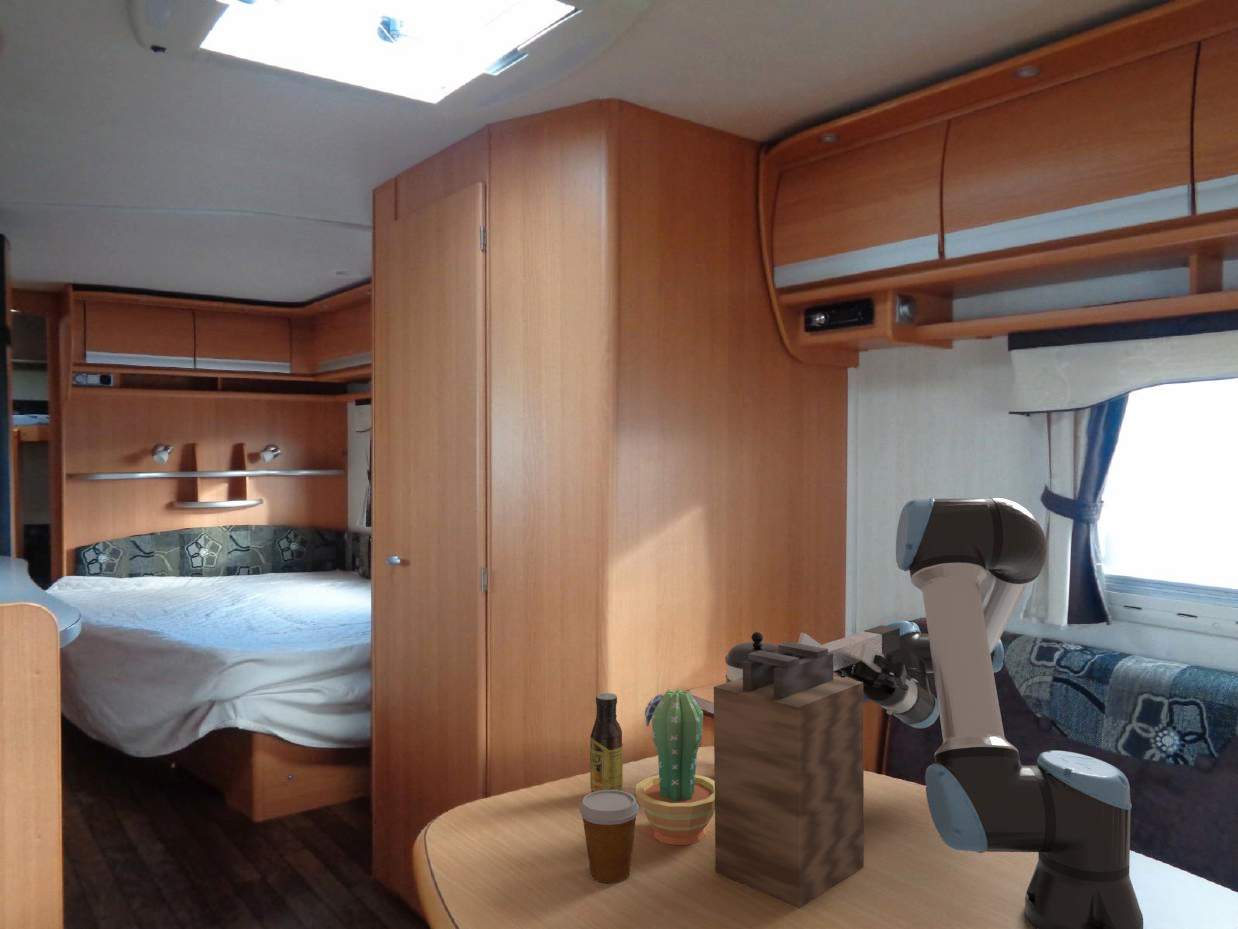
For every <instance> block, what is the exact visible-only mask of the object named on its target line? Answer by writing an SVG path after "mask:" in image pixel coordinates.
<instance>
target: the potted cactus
mask: <svg viewBox="0 0 1238 929" xmlns="http://www.w3.org/2000/svg"><path fill="white" fill-rule="evenodd" d="M644 717H645V726H646V727H647V728H648V727H649V725H650V723H651V728H652V730H651V731H652V740H653V742H654V746H655V749H656V752H657V759H658V760H657V761H658V774H657V775H652V776H648V777H645V778H644V779H643V780H641V781H640V782H638V783H637V784H635V796H636V797H635V798H636V802H637V804H639V805H641V807H642V808H643V812H644V815H645V818H646V820H647V821H648V823H649V825H651V827H652V828H653V837H654V838H655V839H656V840H658V841H659V842H661V843H664V844H669V845H671V846H672V845H673V846H686V845H687V846H688V845H690V844H695V843H698V842H700V841H701V840H702V839H703V838H705V832H704V829H705V828H707V825H708V824H709V823H710V822H711V820H712V819H713V816H714V814H715V780H714V779H712V778H710V777H707V776H704V775H700V774H696V773H697V772H696V771H697V770H696V769H697V768H696V767H697V757H698V756H697V755H698V751H699V747H700V744H701V740H702V738H703V727H704V723H703V722H704V711H703V710H702V709H701V706H700V705H699V703H697V701H696V699H695V698H694V697H693V695H692V694H691V693H690V690H685V691H683V690H682V688H677V689H676V690H675V691H674V690H672V689H667V691H665V693H664V694H663V693H660V694H657V695H655V696H654V697H653V698H651V699H650V701H649V702H648V703H647V706H645V709H644Z"/></svg>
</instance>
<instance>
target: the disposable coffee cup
mask: <svg viewBox="0 0 1238 929" xmlns="http://www.w3.org/2000/svg"><path fill="white" fill-rule="evenodd" d="M635 796H636V795H634V794H632V793H630V792H627V791H625V790H622V791H620V790H600V791H596V792H592V793H591V792H589V793H588V794H586V795H585V796H584V797H583V798H582V801H581V804H580V805H579V813H580V814H581V815H580V816H581V817H582V822H583V828H584V835H585V842H586V850H587V856H588V865H589V866H588V867H589V872H590V876H592V877H593V878H594V879H593V878H592V877H591V878H592V879H593V880H595V881H596V880H597V882H599V881H600V883H606V884H615V883H619V882H622V881H625V880H627V879H628V878H629V877H630V876H631V874H630V873H631V865H632V856H633V850H634V849H633V848H634V838H635V829H636V820H637V815H638V812H639V811H640V806H639V805H640V804H639V803H638V801H637V797H635Z"/></svg>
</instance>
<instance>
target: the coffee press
mask: <svg viewBox="0 0 1238 929" xmlns="http://www.w3.org/2000/svg"><path fill="white" fill-rule="evenodd" d="M763 639H764V637H763V635H762V633H761V632H759V631H755V632H753V634H752V635H751V640H752V641H747V642H745V641H744V642H741V643H738V644H735V645H733V646H732V647H731V648H730V649H729V650H728V652H727V654H726V655H725V657H724V662H725V664H726V668H727V669H726V673H727V674H726V675H725V679H726V680H725V683H727V682H730V681H733V680H736V679H739V678H742V677H743V662H744V661H747V660H748V654H749V653H753V652H756V651H759V650H761V651H766V652H771V653H773V652H776V651H778V645H779V644H778V645H777V644H776V643H775V644H774V643H771V642H764V641H763Z"/></svg>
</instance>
